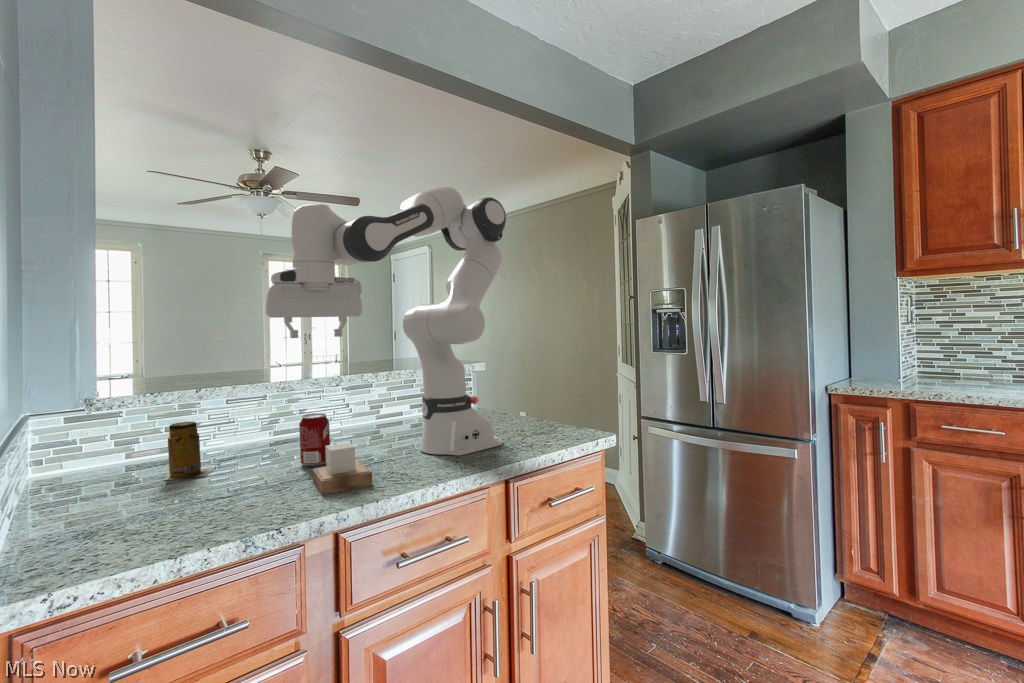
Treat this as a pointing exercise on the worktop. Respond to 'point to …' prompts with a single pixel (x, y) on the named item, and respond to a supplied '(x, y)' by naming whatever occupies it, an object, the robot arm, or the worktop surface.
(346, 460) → the cube
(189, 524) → the worktop surface
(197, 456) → the condiment
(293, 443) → the worktop surface
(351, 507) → the worktop surface
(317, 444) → the soda can
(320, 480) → the plinth
